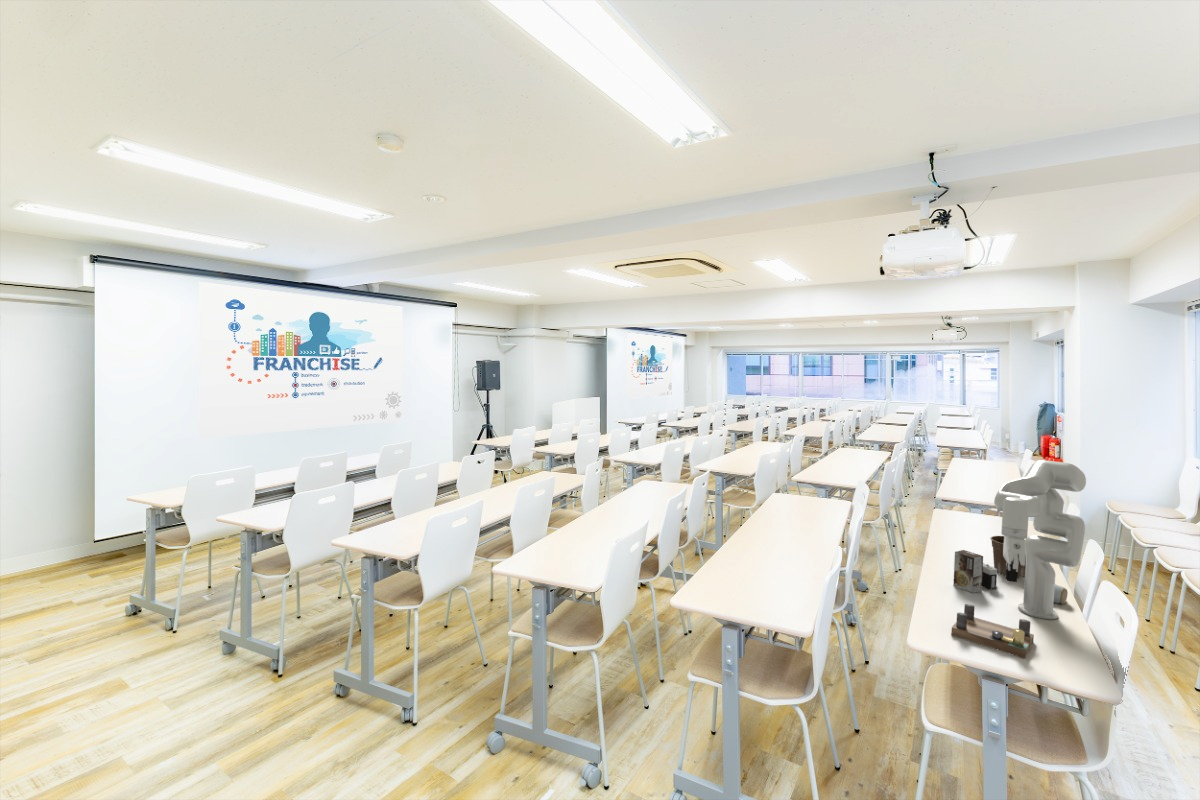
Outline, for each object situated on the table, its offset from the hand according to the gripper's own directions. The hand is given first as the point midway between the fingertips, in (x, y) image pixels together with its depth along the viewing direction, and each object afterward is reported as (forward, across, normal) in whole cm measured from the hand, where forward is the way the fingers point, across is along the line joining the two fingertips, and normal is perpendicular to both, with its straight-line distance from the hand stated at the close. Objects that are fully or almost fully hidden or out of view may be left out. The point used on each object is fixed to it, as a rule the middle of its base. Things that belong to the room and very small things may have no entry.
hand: (1011, 580), depth 198 cm
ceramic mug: (+22, +51, -26) cm, 61 cm away
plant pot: (+22, +80, -15) cm, 84 cm away
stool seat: (+22, -2, +5) cm, 23 cm away
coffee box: (+22, +48, +6) cm, 53 cm away
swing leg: (+19, -10, +2) cm, 21 cm away
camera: (+22, +58, -2) cm, 62 cm away
